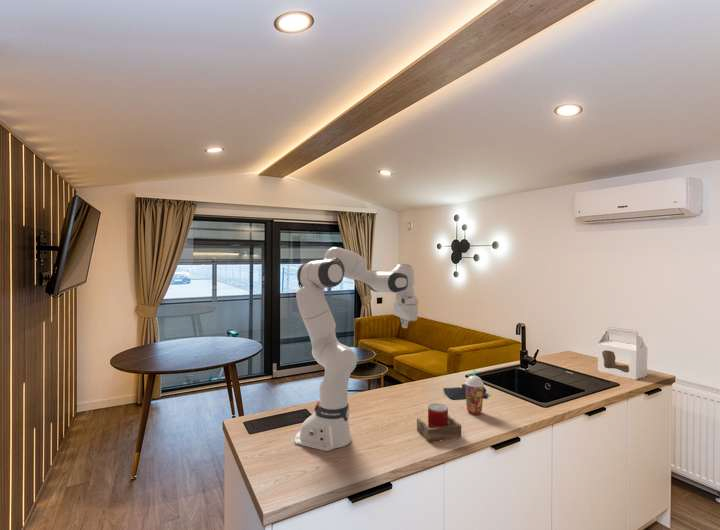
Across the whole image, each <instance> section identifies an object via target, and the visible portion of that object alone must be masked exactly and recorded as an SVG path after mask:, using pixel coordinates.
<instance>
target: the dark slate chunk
mask: <svg viewBox="0 0 720 530" xmlns="http://www.w3.org/2000/svg"><path fill="white" fill-rule="evenodd" d="M442 391H443V392H444V393H445V394H446V396H447V397H448V398H449V400H452V401H460V400H461V401H463V400H465V399H466V387H465V383H464V384H461V387H460V386H459V387H458V386H457V387H444V388H443V389H442ZM486 393H487V389H486V388H485V387H484V388H483V399H488V398H489V397H488V395H487V394H486ZM465 401H466V400H465Z"/></svg>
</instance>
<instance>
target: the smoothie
mask: <svg viewBox="0 0 720 530" xmlns="http://www.w3.org/2000/svg"><path fill="white" fill-rule="evenodd" d="M464 384H465V387H466V400H465V401H466V410H467V412H468V414H470V415H473V416H478V415H481V413H482V411H483V399H484V398H483V388H485V386H484V385H485V384H484V382H483V380H482V379H481V377H479V376H478V375H476V369H473V375H470V376H468V377H467V378H466V381H465V382H464Z"/></svg>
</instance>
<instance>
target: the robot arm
mask: <svg viewBox="0 0 720 530" xmlns="http://www.w3.org/2000/svg"><path fill="white" fill-rule="evenodd" d="M367 266H368V265H367V261H366V259H365V257H363V256H362V255H360V254H358V253H357V252H354V251H353V250H349V249H347V248H342V247H337V246H332V247H330V248H328V250H327V251H326V252H325V254H324V256H323V259H317V260H316V259H315V260H312V261H306V262H304V263H303V264H301V265H299V267H298V269H297V272H296V274H297V275H296V278H297V282H298V285H297V286H298V287H299V289H298V290H297V291H296V294H295V298H296V304H297V308H298V311H299V313H300V316H301V319H302V321H303V323H304V326H305V328H306V331H307V333H308V336H309V339H310V344H311V347H312V348H311V355H312V358H314V361H316V362H317V364H319V365H321V366H322V367H323V368H324V376H323V379H322V381H321V382H320V384H319V400H318V401H317V402H316V404H315V406H314V407H313V412H314V413H312V414H310V416H308V417H307V418H305V420H304V421H303V423H302V424H301V427H300V430H299V431H298V432H297V433H296V434H295V437H294V439H293V440H294V444H295V445H300V446H304V447H308V448H312V449H315V450H321V451H324V452H329V451H332V450H334V449H337V448H342V447H345V446H347V445H349V444H350V443H351V442H352V439H353V437H352V434H351V431H350V426H349V425H350V424H349V416H350V408H349V402H348V396H349V394H348V389H349V387H348V386H349V380H350V376H351V373H353V372H354V370H355V368H356V367H357V364H358V358H357V355H356V353H355V352H354V350H353V349H351V348H350V347H349V346H348V345H345V344H343V343H341V342H339V340H338V338H337V334H336V327H337V324H336V321H335V319H334V316H333V314H332V311H331V309H330V306H329V304H328V301H327V299H326V296H325V289H327V288H329V289H330V288H331V289H332V288H334V287H337V286H339V285H340V284H341V283H342V281H343V279H344V278H346V279H349V280H357V281H359V282H361V283H363V284H365V285H366V286H367V287H368V289H370V290H371V291H372V292H376V293H377V292H381V293H382V292H383V293H391V294H394V295H395V297H394V302H393V310H392V311H393V312H392V313H393V315H394V316H396V317H399V318H400V324H401V328H403V329H408V326H409V322H415V321H417V320H418V311H419V309H418V304H419V298H417V297H416V295H415V290H414V284H415V275H414V274H415V273H414V268H413V266H412V265H410V264H406V263H399V264H396V266H395V267H394V268H393V269H392V270H390V271H388V270H387V271H385V270H384V271H382V270H369V269H367Z"/></svg>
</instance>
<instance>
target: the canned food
mask: <svg viewBox="0 0 720 530" xmlns="http://www.w3.org/2000/svg"><path fill="white" fill-rule="evenodd" d="M427 412H428V413H427V426H428V427H429V428H436V427H443V426H448V415H449V407H448V406H447V405H446V404H443V403H434V402H433V403H430V404H428V406H427Z"/></svg>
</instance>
